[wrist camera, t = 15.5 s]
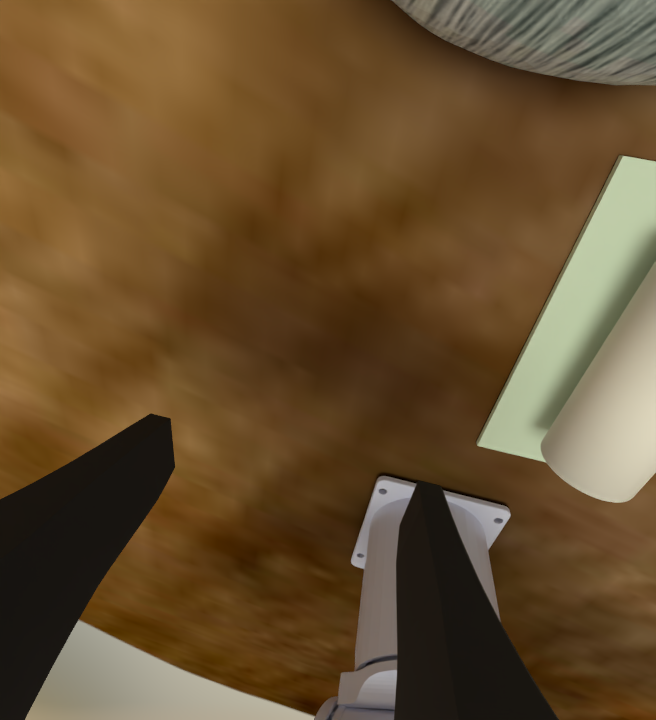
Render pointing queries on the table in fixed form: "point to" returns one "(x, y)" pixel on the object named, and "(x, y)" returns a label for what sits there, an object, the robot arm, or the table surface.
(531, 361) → the mat
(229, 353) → the table surface
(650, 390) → the cylinder
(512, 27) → the mottled grey-green ovoid
